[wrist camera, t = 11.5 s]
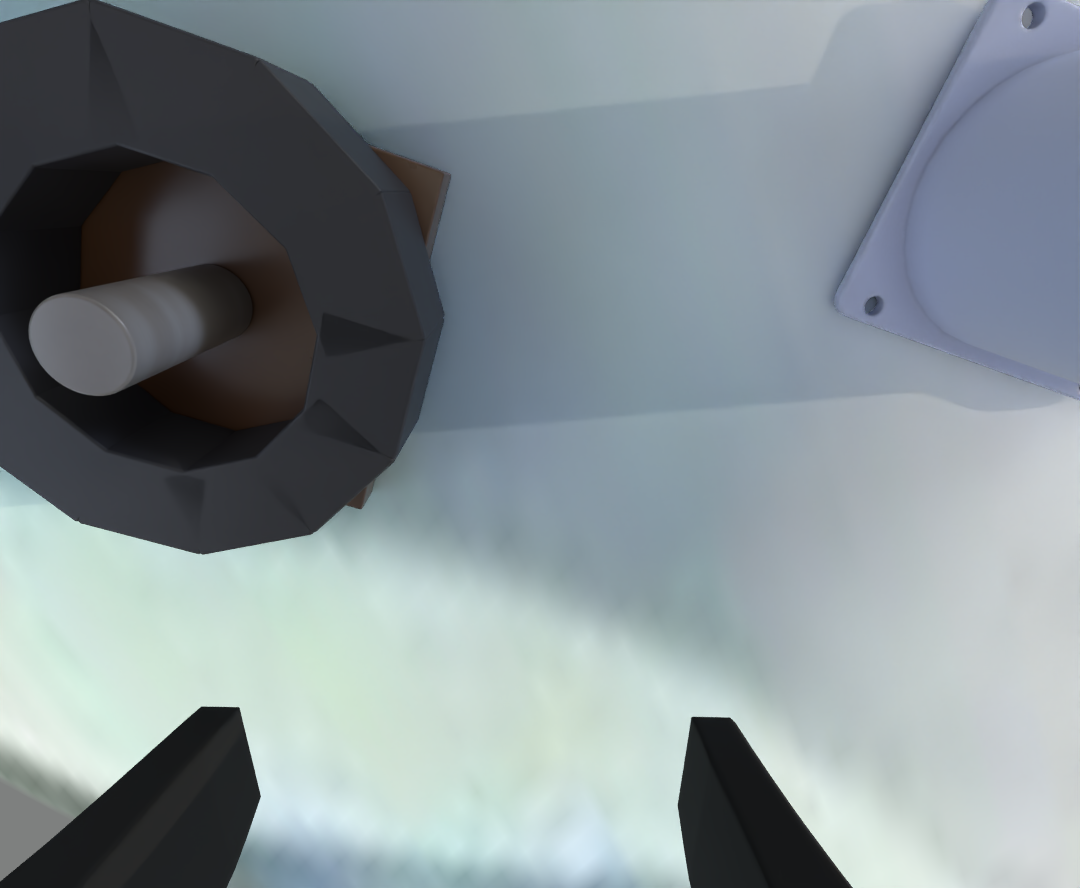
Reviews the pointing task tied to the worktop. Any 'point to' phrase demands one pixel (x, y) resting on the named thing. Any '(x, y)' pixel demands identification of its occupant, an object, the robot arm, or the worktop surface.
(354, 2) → the worktop surface
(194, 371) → the stand
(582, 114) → the worktop surface
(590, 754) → the worktop surface
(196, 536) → the ring
